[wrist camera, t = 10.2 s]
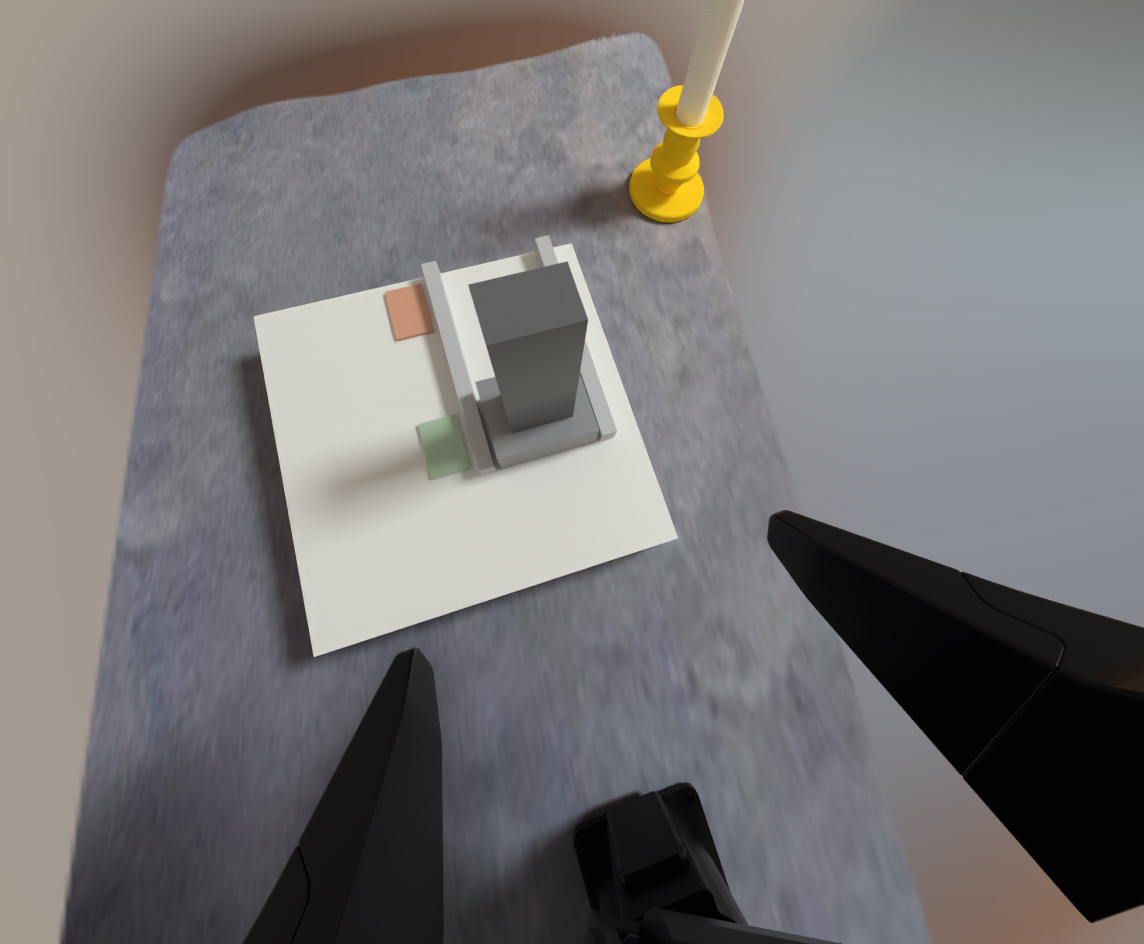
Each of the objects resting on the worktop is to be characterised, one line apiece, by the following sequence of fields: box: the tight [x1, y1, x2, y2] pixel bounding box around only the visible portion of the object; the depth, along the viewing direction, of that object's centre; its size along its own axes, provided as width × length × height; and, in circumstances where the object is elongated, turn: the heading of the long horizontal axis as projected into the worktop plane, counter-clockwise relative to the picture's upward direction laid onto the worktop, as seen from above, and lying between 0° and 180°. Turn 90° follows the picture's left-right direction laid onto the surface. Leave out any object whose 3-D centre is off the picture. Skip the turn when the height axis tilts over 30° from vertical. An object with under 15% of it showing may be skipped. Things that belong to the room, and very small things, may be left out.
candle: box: [629, 0, 744, 223], centre depth 21 cm, size 5×5×16 cm
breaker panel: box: [254, 235, 678, 657], centre depth 22 cm, size 18×18×4 cm
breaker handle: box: [468, 261, 599, 469], centre depth 17 cm, size 4×5×10 cm
